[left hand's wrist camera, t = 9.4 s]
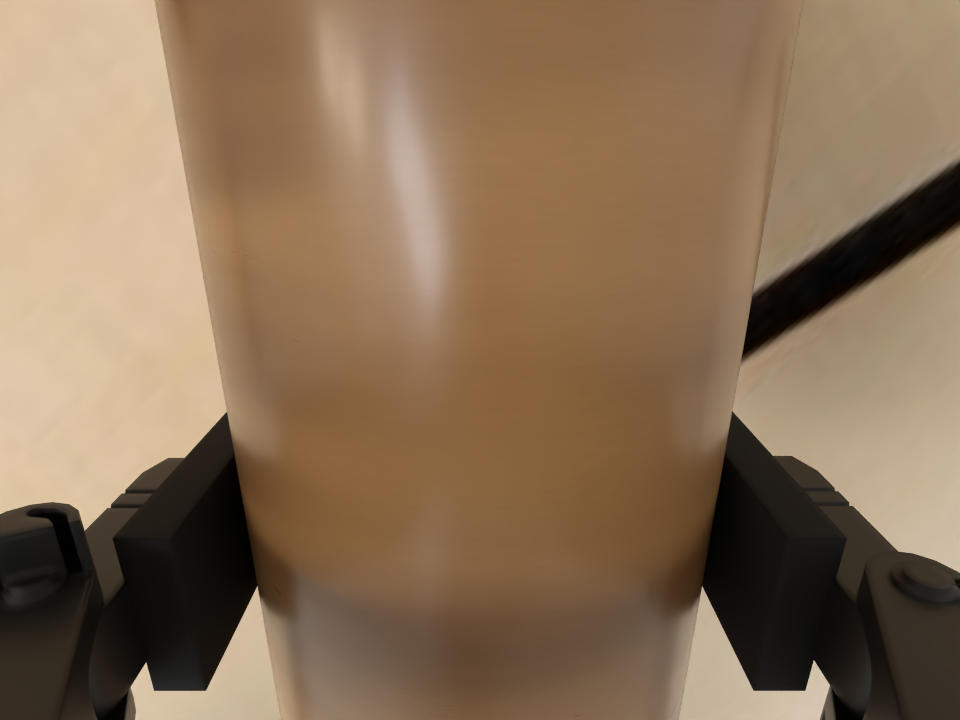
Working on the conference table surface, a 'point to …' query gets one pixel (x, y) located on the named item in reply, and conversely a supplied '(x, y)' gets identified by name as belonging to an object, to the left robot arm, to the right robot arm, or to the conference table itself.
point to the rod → (479, 331)
